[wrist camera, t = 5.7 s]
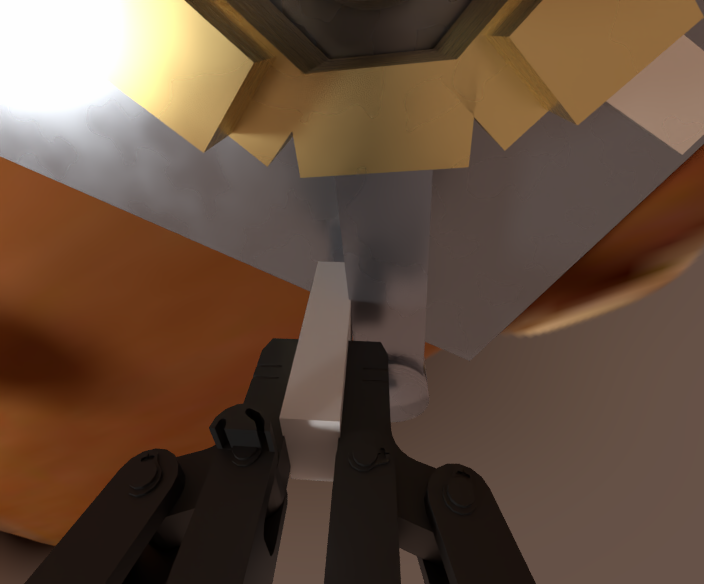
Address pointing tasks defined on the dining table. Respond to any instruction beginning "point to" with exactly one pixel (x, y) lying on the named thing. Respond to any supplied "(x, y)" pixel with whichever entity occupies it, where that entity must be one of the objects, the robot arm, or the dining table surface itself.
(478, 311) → the housing
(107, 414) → the dining table surface
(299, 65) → the ring nut
